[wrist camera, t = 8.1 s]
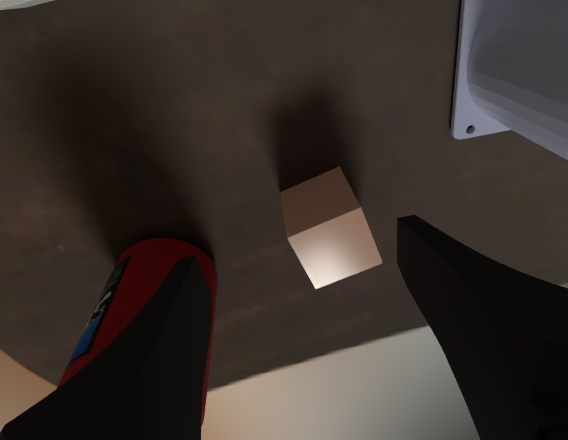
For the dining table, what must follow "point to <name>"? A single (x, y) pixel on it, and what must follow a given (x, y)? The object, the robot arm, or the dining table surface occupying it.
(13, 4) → the grey slab
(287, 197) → the terracotta block
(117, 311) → the beverage can
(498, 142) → the dining table surface
